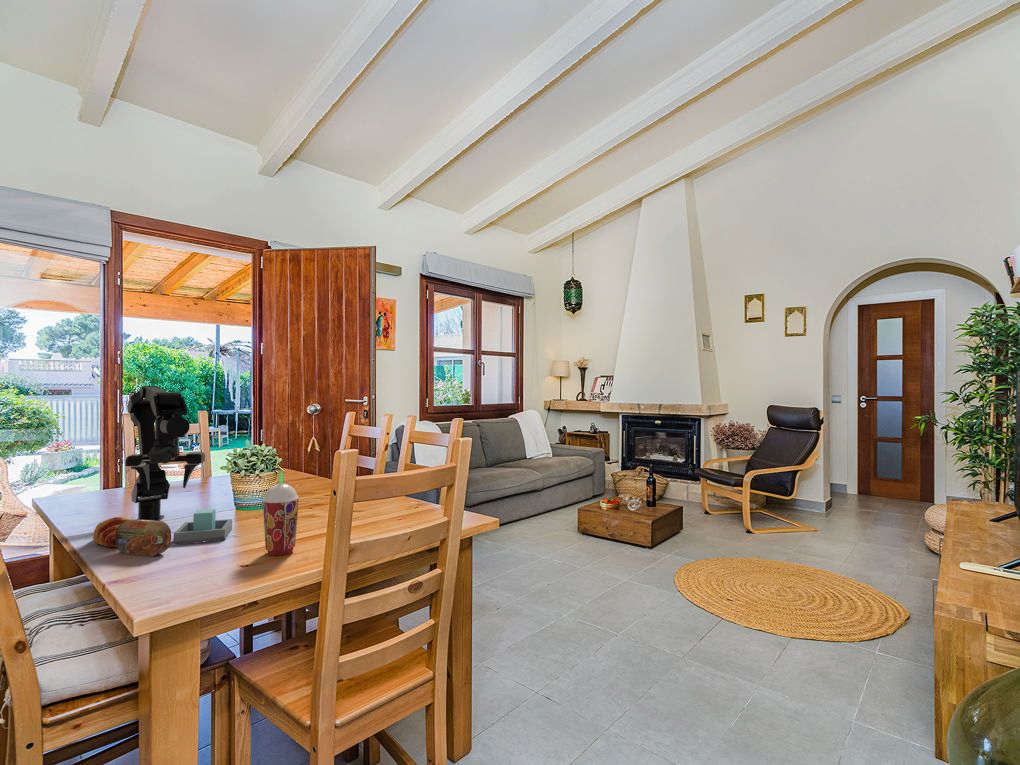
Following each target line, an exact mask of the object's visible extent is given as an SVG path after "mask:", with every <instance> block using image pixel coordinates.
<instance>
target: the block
mask: <svg viewBox="0 0 1020 765" xmlns="http://www.w3.org/2000/svg"><path fill="white" fill-rule="evenodd" d="M192 520H193V521H192V522H193V531H199V530H212V529H215V520H216V509H215V508H212V509H210V508H209V509H197V510H196V511H195V512H194V513H193V519H192Z"/></svg>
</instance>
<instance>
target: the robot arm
mask: <svg viewBox="0 0 1020 765" xmlns="http://www.w3.org/2000/svg"><path fill="white" fill-rule="evenodd" d="M188 411H189V407H188V405H187V401H186V399H185V397H184V396H183V395H182V393H181V392H179V391H166V390H165V389H163V388H161V386H158V385H143V386H140V388H139V389H138V391H137V392H135V393H134V394H132V395H130V397H129V400H128V403H127V413H128V414H129V417H130V420H131V422H132V423H133V424H134V425H135V426H136V427H137V437H138V438H137V439H138V448H139V449H138V450H139V453H138V454H137V453H134V454H131V455H127V456H126V458H125V461H124V466H125V467H130V469H131V470H135V471H136V472H137V473H138V475H137V477H136V479H135V483H134V485H133V488H132V492H131V496H130V497H131V502H132V503H134V504H138V505H137V506H138V509H137V512H138V513H137V515H138V516H137V519H139V520H154V521H162V519H163V518H164V517H165V515H164V514H161V505H162V504H161V501H162V500H168V498H169V490H170V487H171V484H170V482H169V480H168V479H167V474H166V470H164V469H162V468H161V467H159V466H160V465H159V464H162V465H163V464H169V463H180V462H182V463H183V462H184V463H185V462H186V464H185V465H183V467H184V474H183V482H182V488H183V489H186V487H187V484H188V482H189V480H190V477H191V476H192V473H193V471H194V470H195V468H196V467H198V466H200V465H201V464H203V463H204V462H206V454H205V453H204V452H202V451H198V452H193V451H192V452H188V453H186V455H185V454H183V455H180V447H179V446H180V445H179V441H180V437H181V438H182V437H184V436H185V435H186V434H188V433H189V431H190V428H191V427H190V426H191V425H190V423H189V421H188V420H187V418H185V417H183V416H188Z"/></svg>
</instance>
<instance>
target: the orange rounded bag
mask: <svg viewBox="0 0 1020 765" xmlns="http://www.w3.org/2000/svg"><path fill="white" fill-rule="evenodd" d="M115 542H116V548H117V550H119V552H120V553H122V554H123V553H124V555H127V554H133V555H132V556H139V555H143V556H142V557H155V556H157V555H160V554H163V553H165V552H166V551H167V550H168V549H169V548H170V546H171V542H172V530H171V528H170V526H169V525H168V524H167V523H166V521H164V520H163V521H162V520H159V521H154V520H139V519H138V518H136V519H133V520H127V521H124V522H122V523H121V524H120V525H119V526H118V528H117V530H116V533H115Z"/></svg>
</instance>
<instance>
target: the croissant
mask: <svg viewBox="0 0 1020 765" xmlns="http://www.w3.org/2000/svg"><path fill="white" fill-rule="evenodd" d="M127 520H134V519H133V518H128V517H123V516H117V517H111V518H108V519H106V520H103V521H101V522H100V523H98V524H97V525H96V526H95V529H94V530H93V535H92V536H93V537H92V538H93V541H95V543H96V544H97V545H99V544H100V545H99V546H105V547H107V548H108V547H109V548H115V547H116V548H117V546H116V542H115V533H116V530H117V528H118V526H119V525H120V524H121V523H122V522H124V521H127Z"/></svg>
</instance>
